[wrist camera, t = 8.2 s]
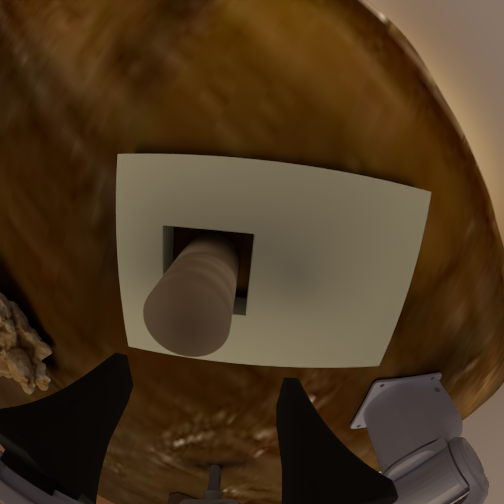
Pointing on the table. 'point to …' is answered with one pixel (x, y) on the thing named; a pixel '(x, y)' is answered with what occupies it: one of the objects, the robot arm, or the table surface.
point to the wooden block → (177, 498)
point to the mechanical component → (212, 490)
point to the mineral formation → (21, 349)
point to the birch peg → (195, 297)
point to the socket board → (277, 252)
